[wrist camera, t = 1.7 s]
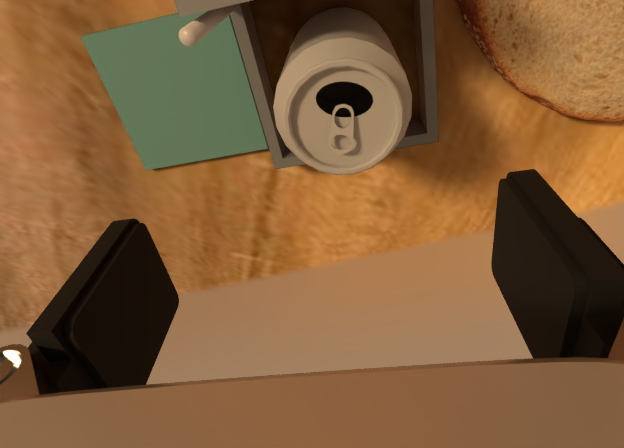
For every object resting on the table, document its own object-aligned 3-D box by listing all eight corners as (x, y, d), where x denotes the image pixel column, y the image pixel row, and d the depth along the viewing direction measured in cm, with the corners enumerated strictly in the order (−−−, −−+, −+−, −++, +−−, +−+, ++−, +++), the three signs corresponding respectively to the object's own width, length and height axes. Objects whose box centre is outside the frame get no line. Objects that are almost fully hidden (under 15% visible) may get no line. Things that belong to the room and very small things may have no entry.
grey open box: (420, -80, 26) (479, -83, 16) (431, 125, 34) (475, 217, 23) (228, -31, 28) (163, -5, 17) (279, 152, 36) (255, 248, 25)
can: (399, 8, 29) (432, 51, 19) (383, 113, 33) (403, 191, 24) (290, 1, 29) (268, 40, 19) (288, 107, 33) (269, 182, 24)
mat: (226, 1, 29) (224, 2, 29) (268, 145, 35) (267, 148, 35) (84, 35, 31) (80, 37, 30) (148, 167, 37) (145, 170, 37)
